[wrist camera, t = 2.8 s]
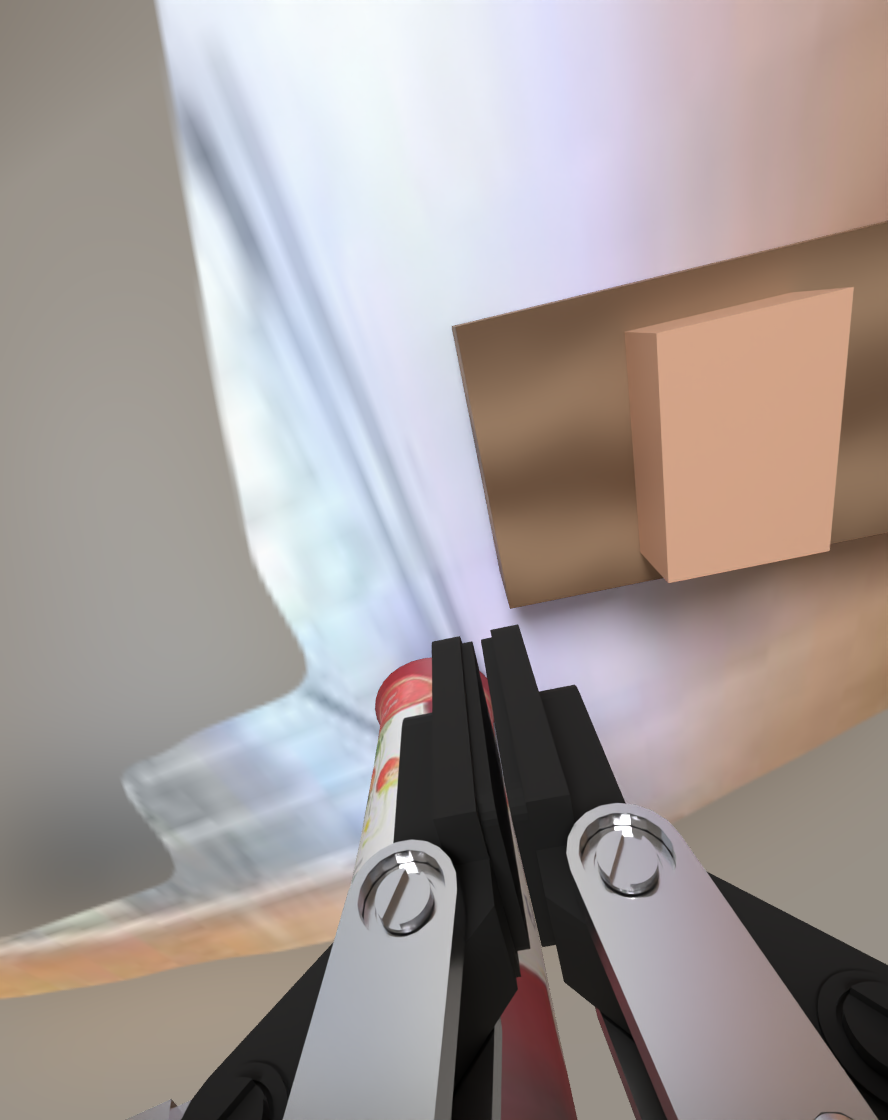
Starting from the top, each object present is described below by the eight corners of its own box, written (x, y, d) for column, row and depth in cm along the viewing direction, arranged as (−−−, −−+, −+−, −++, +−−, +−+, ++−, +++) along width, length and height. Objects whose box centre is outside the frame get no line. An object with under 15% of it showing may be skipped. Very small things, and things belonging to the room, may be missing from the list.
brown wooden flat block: (451, 326, 23) (455, 326, 19) (986, 196, 21) (1102, 170, 17) (499, 571, 27) (509, 608, 24) (936, 480, 26) (1019, 506, 22)
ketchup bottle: (383, 631, 29) (6, 2981, 3) (512, 650, 30) (1015, 2721, 4) (366, 733, 32) (97, 2399, 6) (483, 748, 32) (673, 2303, 7)
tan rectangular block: (624, 332, 19) (656, 333, 16) (792, 292, 19) (854, 287, 16) (640, 551, 23) (668, 583, 20) (780, 523, 22) (829, 550, 20)
